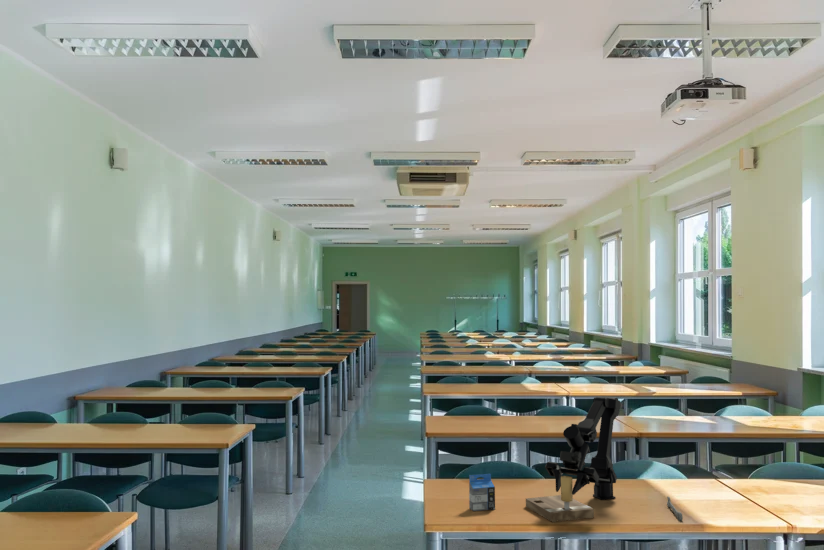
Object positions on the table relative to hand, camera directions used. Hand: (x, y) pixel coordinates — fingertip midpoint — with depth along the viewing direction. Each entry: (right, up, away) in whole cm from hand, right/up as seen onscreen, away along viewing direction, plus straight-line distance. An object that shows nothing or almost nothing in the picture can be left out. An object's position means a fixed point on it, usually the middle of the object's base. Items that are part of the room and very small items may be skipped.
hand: (564, 492), depth 238 cm
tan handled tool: (+1, -9, +1) cm, 9 cm away
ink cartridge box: (-28, -10, +12) cm, 32 cm away
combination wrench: (+41, -9, +5) cm, 42 cm away
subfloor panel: (0, -9, +7) cm, 12 cm away
